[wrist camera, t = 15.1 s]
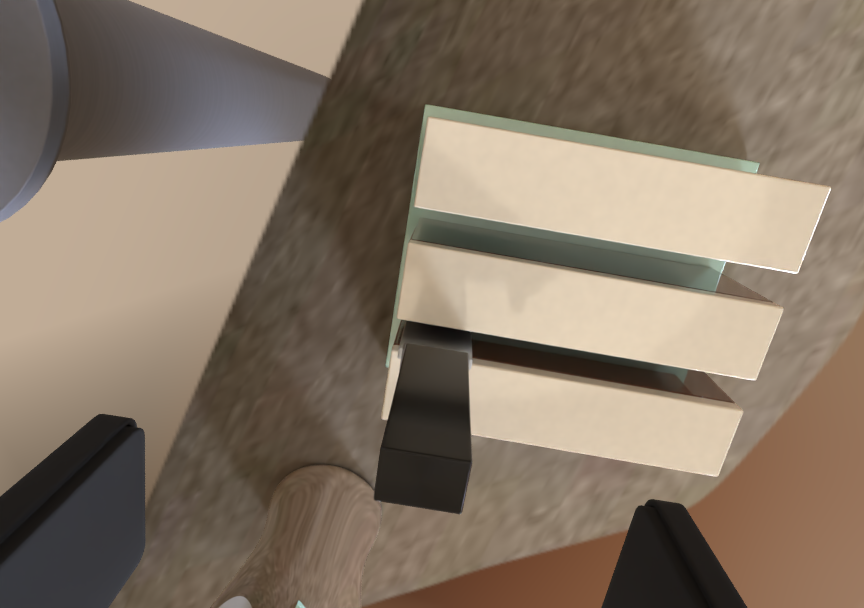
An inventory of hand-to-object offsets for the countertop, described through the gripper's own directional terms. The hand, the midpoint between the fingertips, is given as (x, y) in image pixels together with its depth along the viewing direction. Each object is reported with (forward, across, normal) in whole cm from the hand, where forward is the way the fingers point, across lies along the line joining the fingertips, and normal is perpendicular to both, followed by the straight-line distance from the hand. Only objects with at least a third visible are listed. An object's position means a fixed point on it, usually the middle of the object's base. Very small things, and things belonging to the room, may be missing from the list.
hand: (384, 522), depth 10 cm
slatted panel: (+16, -6, -2) cm, 17 cm away
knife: (+15, -1, 0) cm, 15 cm away
